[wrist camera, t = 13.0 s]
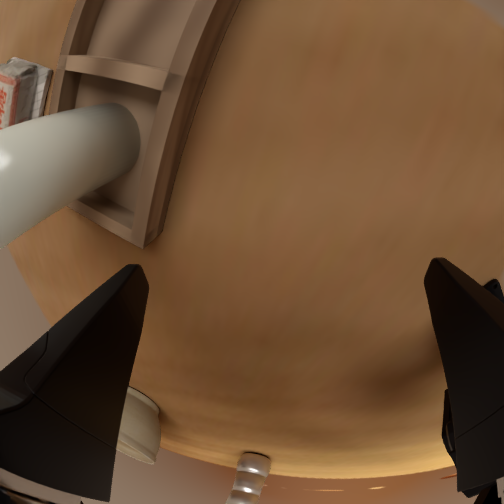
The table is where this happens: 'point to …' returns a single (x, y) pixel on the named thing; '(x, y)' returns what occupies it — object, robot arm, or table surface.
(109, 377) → the robot arm
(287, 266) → the table surface
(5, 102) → the packaged product
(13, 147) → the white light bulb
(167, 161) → the divided tray
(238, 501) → the plastic bottle
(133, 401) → the planter bowl
